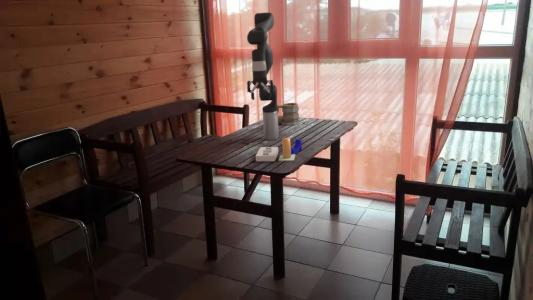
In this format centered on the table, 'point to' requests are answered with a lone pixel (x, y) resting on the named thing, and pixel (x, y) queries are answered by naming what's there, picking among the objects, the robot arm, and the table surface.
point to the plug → (286, 148)
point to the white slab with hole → (267, 154)
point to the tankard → (289, 114)
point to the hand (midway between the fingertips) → (261, 99)
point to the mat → (286, 158)
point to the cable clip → (297, 146)
